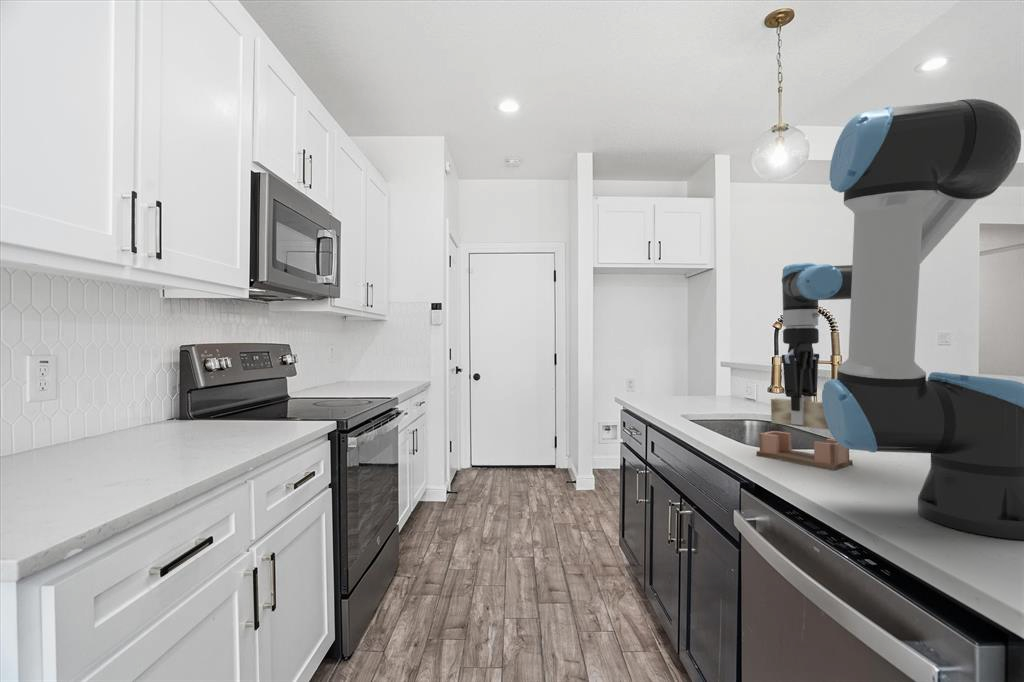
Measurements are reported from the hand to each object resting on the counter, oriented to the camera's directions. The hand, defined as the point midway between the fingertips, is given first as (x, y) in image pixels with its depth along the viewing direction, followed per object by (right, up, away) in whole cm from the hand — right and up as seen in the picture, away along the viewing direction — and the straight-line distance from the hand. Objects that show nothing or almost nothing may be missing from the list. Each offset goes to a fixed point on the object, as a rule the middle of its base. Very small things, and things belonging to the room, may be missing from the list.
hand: (801, 423), depth 119 cm
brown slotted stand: (0, -8, 0) cm, 8 cm away
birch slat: (0, -1, 0) cm, 1 cm away
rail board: (0, -9, 0) cm, 9 cm away
